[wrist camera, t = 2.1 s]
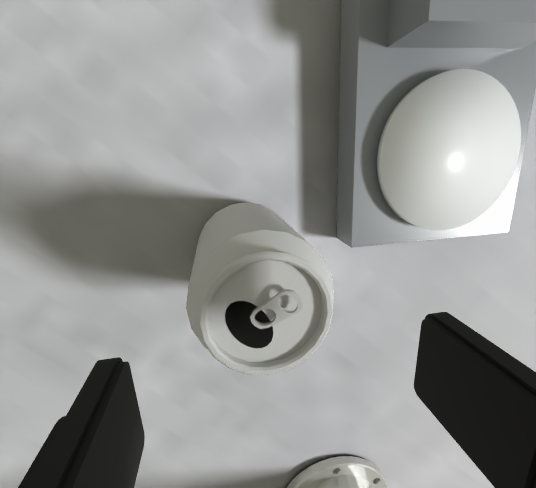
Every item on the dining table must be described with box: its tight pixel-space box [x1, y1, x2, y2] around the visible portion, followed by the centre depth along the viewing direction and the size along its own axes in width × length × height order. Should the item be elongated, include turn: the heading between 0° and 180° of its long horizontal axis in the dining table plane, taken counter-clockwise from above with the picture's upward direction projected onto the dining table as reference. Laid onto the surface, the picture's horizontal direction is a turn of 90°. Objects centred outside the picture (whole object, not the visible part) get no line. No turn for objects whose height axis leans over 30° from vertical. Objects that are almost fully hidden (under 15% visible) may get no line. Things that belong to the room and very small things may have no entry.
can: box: [186, 202, 334, 375], centre depth 19 cm, size 8×8×12 cm
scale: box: [337, 0, 536, 247], centre depth 21 cm, size 18×14×7 cm
